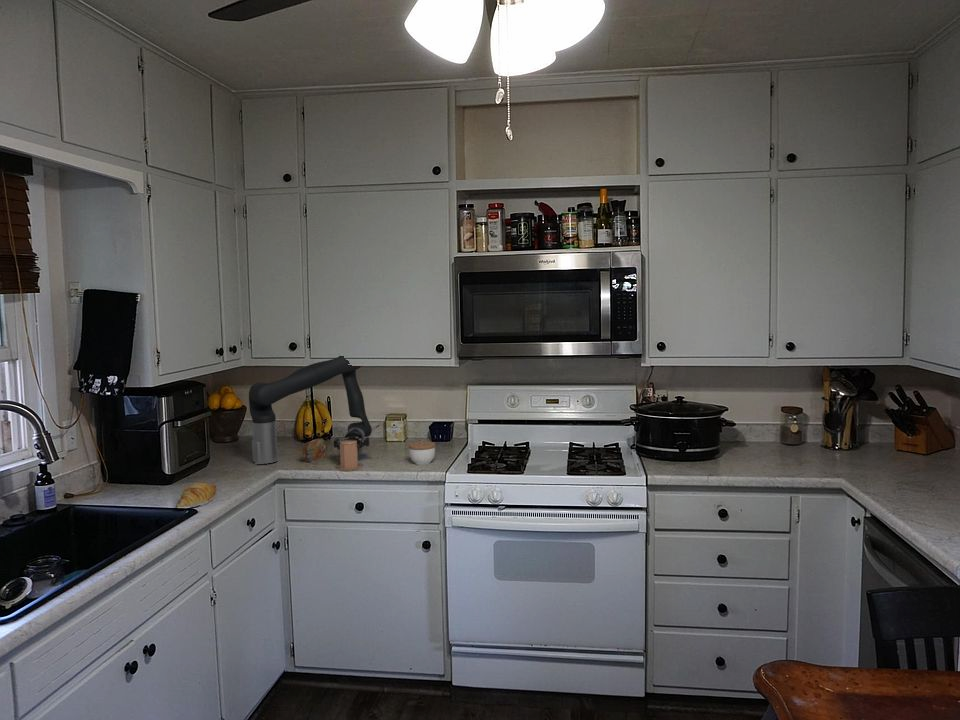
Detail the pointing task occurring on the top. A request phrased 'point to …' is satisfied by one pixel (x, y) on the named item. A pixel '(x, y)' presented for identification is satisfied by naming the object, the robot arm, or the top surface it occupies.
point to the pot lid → (349, 468)
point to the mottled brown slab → (314, 450)
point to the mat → (360, 457)
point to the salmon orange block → (348, 454)
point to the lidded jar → (422, 452)
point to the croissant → (196, 494)
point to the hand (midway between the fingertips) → (349, 446)
